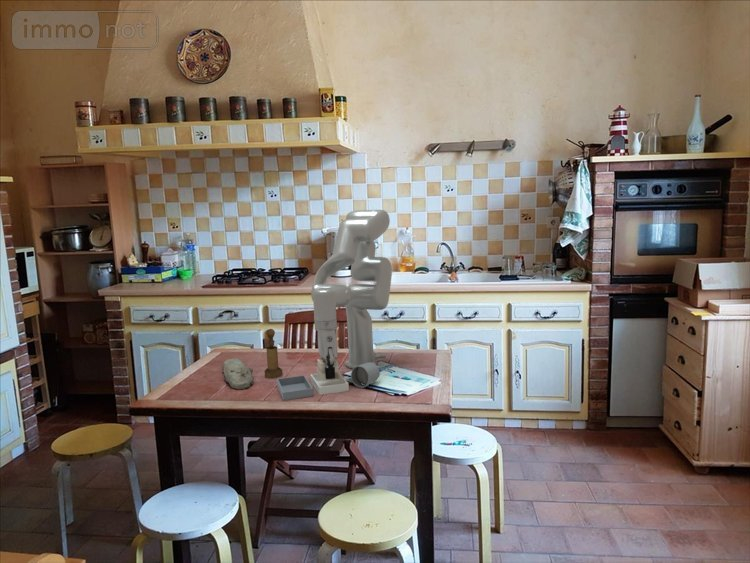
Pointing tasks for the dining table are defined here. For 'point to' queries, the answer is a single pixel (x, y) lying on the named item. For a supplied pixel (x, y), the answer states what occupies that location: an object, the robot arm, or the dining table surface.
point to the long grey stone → (237, 373)
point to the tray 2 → (329, 385)
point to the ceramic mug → (364, 374)
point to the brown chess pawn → (272, 358)
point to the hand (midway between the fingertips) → (328, 375)
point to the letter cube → (321, 369)
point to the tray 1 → (294, 387)
